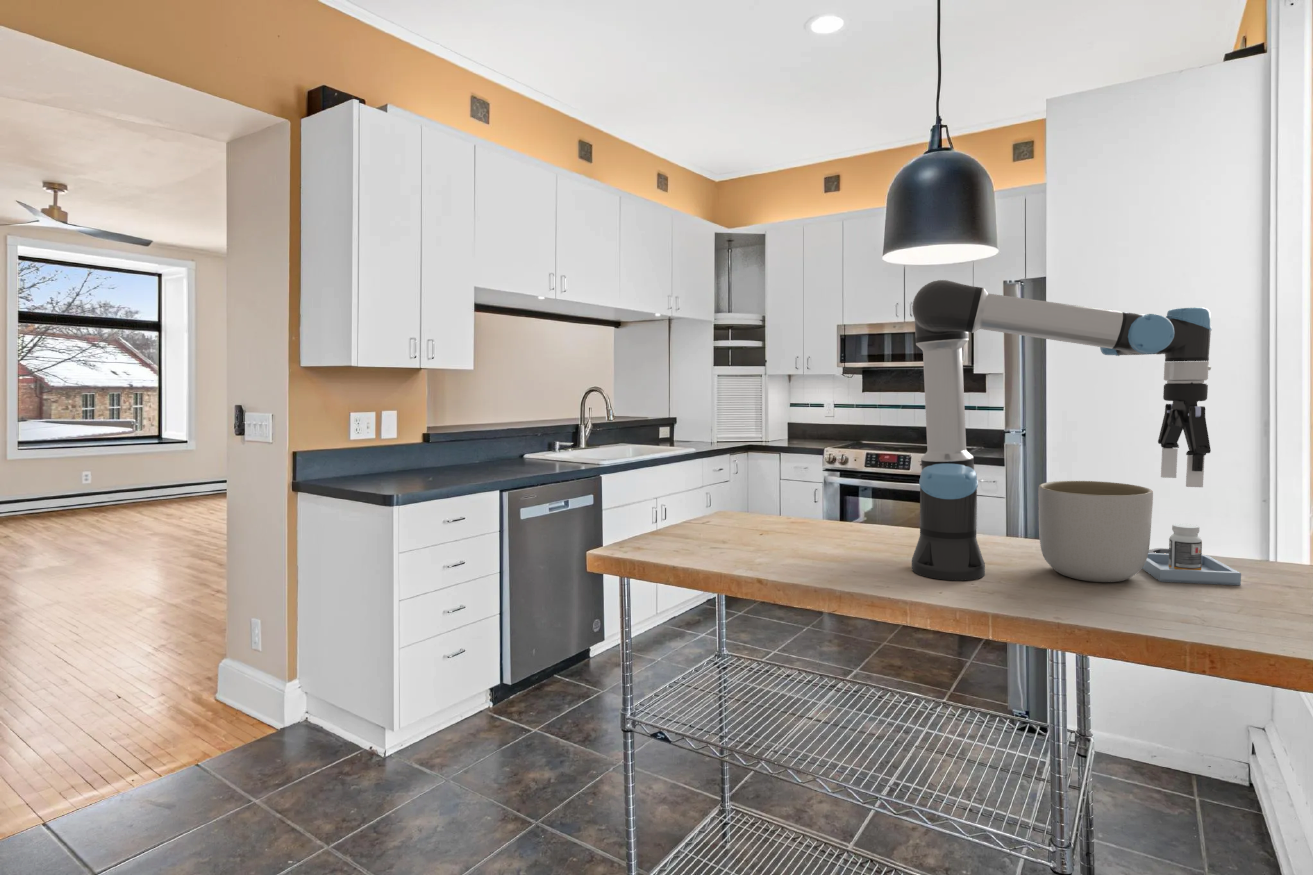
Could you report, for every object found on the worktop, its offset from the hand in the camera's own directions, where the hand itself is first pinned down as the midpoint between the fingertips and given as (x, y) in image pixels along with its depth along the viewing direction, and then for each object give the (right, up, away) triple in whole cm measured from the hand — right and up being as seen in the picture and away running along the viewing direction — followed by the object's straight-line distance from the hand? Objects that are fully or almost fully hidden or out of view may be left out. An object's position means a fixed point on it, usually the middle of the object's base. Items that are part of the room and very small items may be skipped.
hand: (1180, 482), depth 154 cm
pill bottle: (+1, -19, 0) cm, 19 cm away
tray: (+1, -20, +1) cm, 20 cm away
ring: (+8, -18, +13) cm, 24 cm away
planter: (-18, -20, +1) cm, 27 cm away
